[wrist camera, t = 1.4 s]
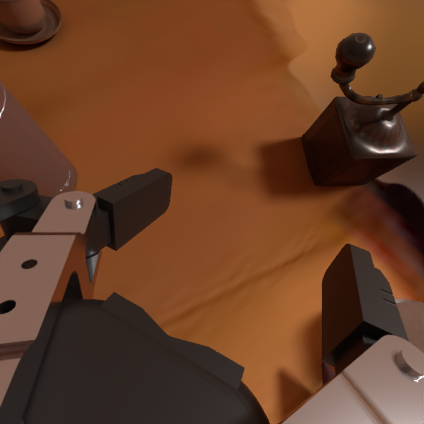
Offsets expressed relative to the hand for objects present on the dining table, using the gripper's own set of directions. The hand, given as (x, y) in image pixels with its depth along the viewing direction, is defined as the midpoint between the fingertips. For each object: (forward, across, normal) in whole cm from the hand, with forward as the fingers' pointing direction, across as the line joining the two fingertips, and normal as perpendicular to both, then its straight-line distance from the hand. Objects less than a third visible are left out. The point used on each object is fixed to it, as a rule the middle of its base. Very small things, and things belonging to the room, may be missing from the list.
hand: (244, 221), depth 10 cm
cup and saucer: (+25, +50, -4) cm, 56 cm away
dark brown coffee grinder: (+36, -5, +5) cm, 36 cm away
